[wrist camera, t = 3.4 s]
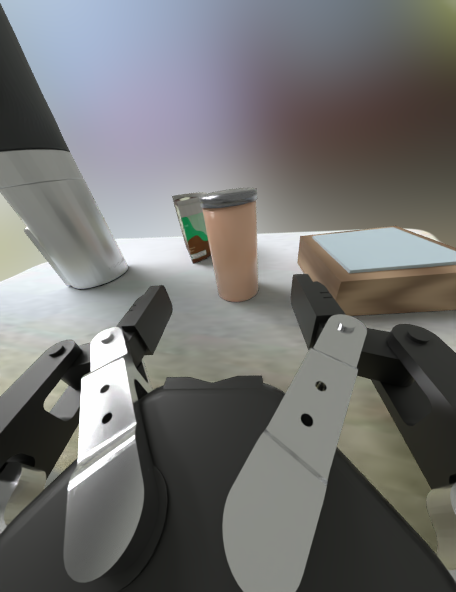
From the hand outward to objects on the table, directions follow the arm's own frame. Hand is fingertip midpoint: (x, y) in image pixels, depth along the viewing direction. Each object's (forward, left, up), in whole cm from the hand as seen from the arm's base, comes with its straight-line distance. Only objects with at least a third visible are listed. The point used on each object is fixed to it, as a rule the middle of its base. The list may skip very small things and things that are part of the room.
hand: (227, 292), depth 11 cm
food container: (-7, +25, -7) cm, 27 cm away
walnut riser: (+15, +10, -7) cm, 19 cm away
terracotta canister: (0, +10, -7) cm, 12 cm away
